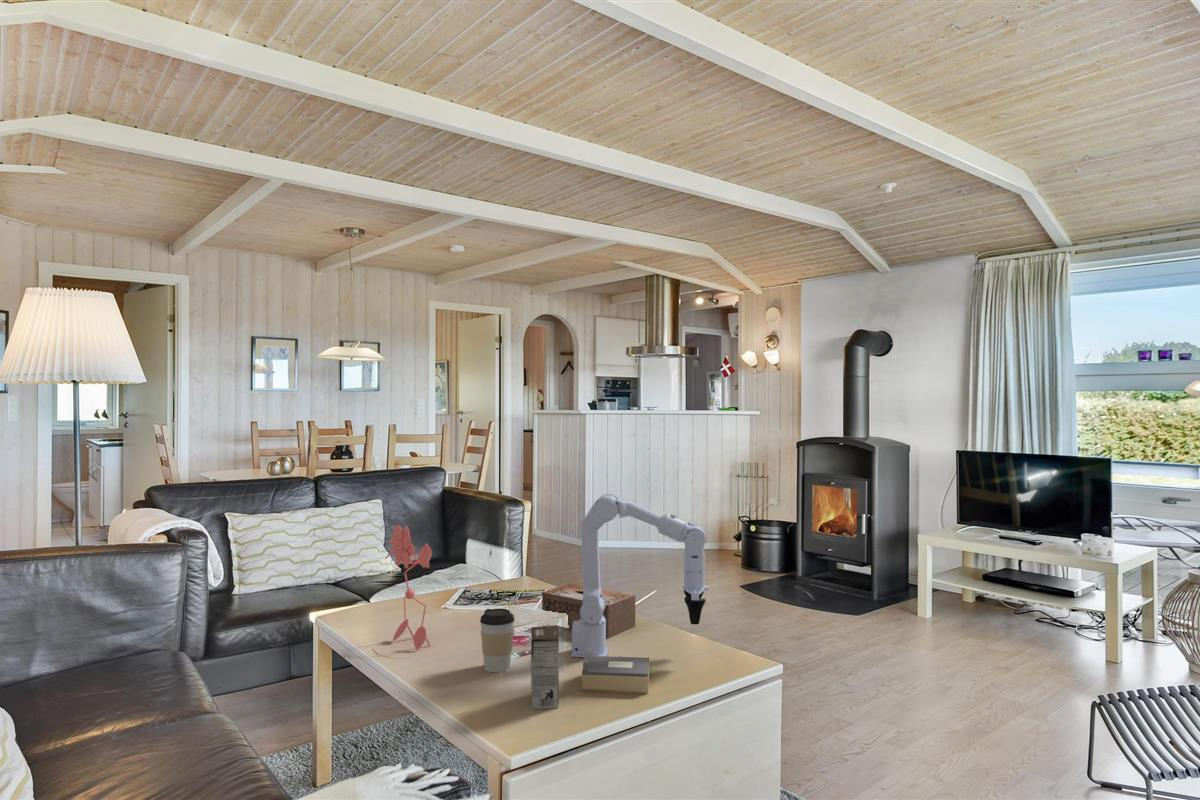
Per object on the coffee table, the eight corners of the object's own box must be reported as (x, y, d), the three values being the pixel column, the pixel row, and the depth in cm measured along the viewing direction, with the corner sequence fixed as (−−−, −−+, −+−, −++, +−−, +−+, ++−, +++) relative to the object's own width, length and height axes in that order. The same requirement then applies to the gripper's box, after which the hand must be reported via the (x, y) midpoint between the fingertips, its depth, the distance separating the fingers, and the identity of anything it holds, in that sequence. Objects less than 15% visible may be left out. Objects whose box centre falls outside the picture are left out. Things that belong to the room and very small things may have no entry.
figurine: (403, 630, 223) (401, 516, 223) (448, 652, 204) (445, 527, 204) (354, 643, 213) (352, 523, 212) (397, 667, 194) (395, 535, 193)
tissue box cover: (542, 623, 232) (542, 592, 232) (570, 613, 243) (570, 583, 243) (608, 639, 216) (608, 605, 216) (635, 627, 228) (635, 595, 228)
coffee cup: (520, 663, 196) (520, 607, 196) (505, 675, 187) (505, 617, 187) (489, 659, 199) (490, 604, 199) (473, 671, 190) (473, 613, 190)
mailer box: (581, 691, 177) (581, 674, 177) (586, 674, 188) (586, 658, 188) (648, 693, 176) (648, 676, 176) (649, 676, 187) (649, 660, 187)
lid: (581, 673, 177) (581, 663, 177) (586, 657, 188) (586, 648, 188) (648, 675, 176) (648, 665, 176) (649, 659, 187) (649, 649, 187)
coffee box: (531, 693, 176) (531, 626, 176) (558, 692, 176) (558, 625, 176) (530, 709, 167) (530, 638, 167) (559, 708, 167) (559, 637, 167)
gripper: (710, 576, 194) (710, 628, 193) (707, 564, 208) (707, 612, 208) (683, 576, 194) (683, 627, 194) (682, 564, 209) (682, 611, 209)
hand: (694, 619), depth 201 cm, fingers open, 7 cm apart
